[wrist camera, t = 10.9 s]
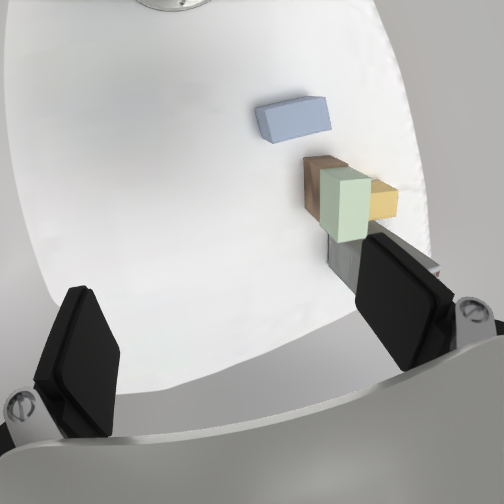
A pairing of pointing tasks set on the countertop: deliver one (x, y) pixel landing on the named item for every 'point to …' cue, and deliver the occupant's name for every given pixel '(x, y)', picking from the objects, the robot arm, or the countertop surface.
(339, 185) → the sage brick
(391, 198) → the ochre brick
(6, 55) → the countertop surface
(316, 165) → the walnut brick
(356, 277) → the skincare box
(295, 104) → the slate brick
